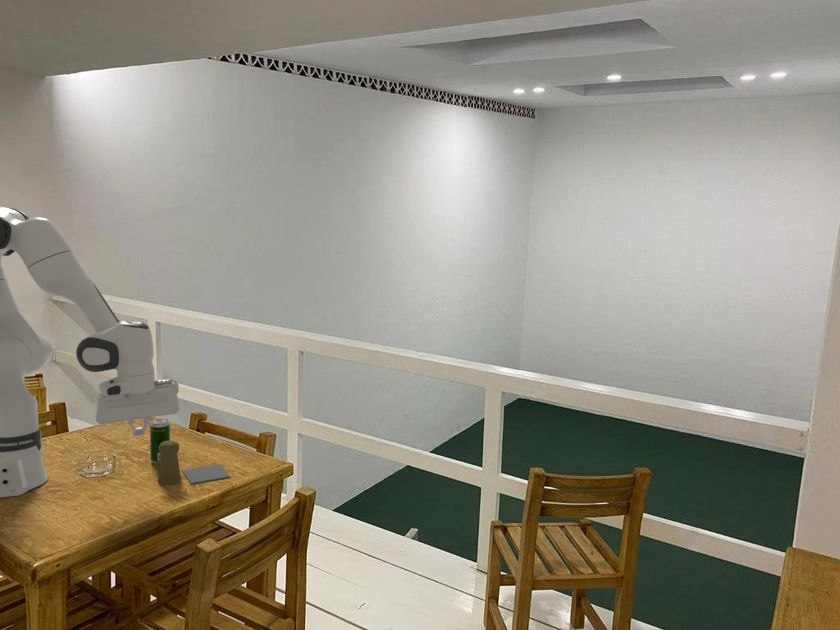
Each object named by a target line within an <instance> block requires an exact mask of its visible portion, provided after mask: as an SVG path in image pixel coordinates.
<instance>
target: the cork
mask: <svg viewBox="0 0 840 630" xmlns="http://www.w3.org/2000/svg"><path fill="white" fill-rule="evenodd" d="M179 451H180V444H179V443H178V441H176V440H170V441H164V442H162V443H161V444H160V445H159V453H160V454H161V458H160V464H159V468H158V475H157V483H159V484H158V485H161V486H174V485H176V484H179V483H181V482H182V476H181V470H180V469H181V468H180V465H179V458H178V457H179V456H178V453H179Z"/></svg>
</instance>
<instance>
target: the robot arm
mask: <svg viewBox="0 0 840 630" xmlns="http://www.w3.org/2000/svg"><path fill="white" fill-rule="evenodd" d="M13 253H16V254H17V255H18V256H19V257H20V258H21V261H22V262H23V264H24V265H25V267H26V269H27V271H28V273H29V274H30V277H31V278H32V280H33V282H34V283H35V284H36V285H37V286H38V287H39V288H40V290H41V291H43V292H44V293H47V294H49V295H51V296H54V297H59V298H62V299H65V300H68V301H70V302H72V303H73V304H75V305H76V306H77V307H78V308H79V309H80V311H81V312H82V314H84V316H85V317H86V319H87V321H88V322H89V323H90V325H91V326H92V328H93V329H94V331H95V333H94V334H92V335H89V336H86V337H85V338H83V339H82V340H81V341H80V342H79V343H78V344H77V347H76V351H75V352H76V353H75V355H76V360H77V361H78V363H79V365H80V366H81V367H82V368H83V369H84V370H86V371H88V372H90V373H92V372H93V373H101V372H105V371H110V370H116V372H117V373H116V374H117V376H115V377H113V378H111V379H108V380H105V381H102V382H100V383H99V385H98V392H99V394H98V395H97V396H96V398H95V401H94V402H95V404H94V421H95V422H96V423H97V424H99V425H104V424H105V425H106V424H112V423H113V424H114V423H121V422H127V424H128V425H129V427H130V428H131V430H132V436H133V437H137V436H143V435H146V434H147V433H146V428H147V426H148V425H149V423H150V418H154V417H155V418H156V417H161V416H169V415H175V414H178V413H179V412H178V411H179V410H180V404H179V402H180V401H179V398H178V393H179V391H180V390H179V384H178V382H177V381H176V380H173V379H171V378H170V379H166V380H165V379H164V380H163V379H161V380H155V379H156V378H155V367H154V364H153V359H154V343H153V336H152V332H151V331H152V330H151V329H150V327H149V325H148V324H146V323H145V322H142V321H140V320H139V321H138V320H132V319H131V320H129V319H127V320H121V321H120V320H119V319H118V317H117V316H116V314H115V313H114V312H113V309H112V308H111V307H110V305H109V303H107V301H106V299H105V298H104V296H103V295H102V293H101V292H100V290H99V289H98V287H97V286H96V285H95V283H94V282H93V281H92V280H91V279H90V277H89V276H88V275H87V273H86V272H85V270H84V269H83V268H82V265H81V264H80V262H79V261H78V260H77V257H76V256H75V254H74V252H73V250H72V249H71V247H70V245H69V243H68V242H67V240H66V239H65V238H64V236H63V235H62V233H61V232H60V231H59V229H58V228H57V227H56V226H55V224H53V222H52V221H51V220H49V219H47V218H45V217H31V218H30V217H29V216H28V215H27V214H26V213H24V212H23V211H20V210H18V209H17V208H12V207H5V206H4V207H3V206H0V498H7V497H15V496H18V497H19V496H21V495H23V494H26V492H28V491H30V490H32V489H35V488H37V487H39V486H41V485H43V484H44V483H45V482H47V481H48V480H49V479H48V478H49V476H48V475H47V471H46V469H45V465H44V462H43V457H42V452H41V451H42V443H43V441H42V439H43V438H42V431H41V428H40V426H39V407H38V405H39V404H38V400H37V398H36V397H35V396H34V395H33V394H31V393H30V392H29V390H28V388H27V385H26V382H25V378H26V377H25V376H27V375H31V374H32V373H35V372H37V371H39V370H40V369H42V367H44V366H45V365H46V364H47V363H49V361H50V360H51V358H52V356H53V346H52V343H51V342H50V340H49V339H48V338H47V337H46V336H45V335H43V334H41V333H40V332H38V331H37V330H36V329H35V328H34V327H33V326H32V325H31V323H29V321H28V320H27V319H26V318H25V316H24V314H23V313H22V311H21V310H20V308H19V306H18V304H17V302H16V299H15V297H14V295H13V293H12V289H11V288H10V285H9V282H8V280H7V277H6V275H5V273H4V269H3V267H2V264H1V263H2V257H3V256H5V257H8V256H11V255H12V254H13ZM141 419H142V421H143V423H142V425H141V426H138V427H137V426H136V427H135V425H134V424H135V420H141Z"/></svg>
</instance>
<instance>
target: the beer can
mask: <svg viewBox="0 0 840 630" xmlns="http://www.w3.org/2000/svg"><path fill="white" fill-rule="evenodd" d="M164 441H171V423H170V420H169V419H167V418H155V419H152V420H151V421H150V424H149V443H150V445H149V447H150V461H151V463H152V464H155V465H156V464H157V465H160V458H161V454H160V453H159V445H160V444H161V443H162V442H164Z"/></svg>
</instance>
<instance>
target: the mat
mask: <svg viewBox="0 0 840 630" xmlns="http://www.w3.org/2000/svg"><path fill="white" fill-rule="evenodd" d="M181 472H182V473H183V475H184V476H185V478H186V479H187V481H188V482H189V483H190V485H196V484H200V483H205V482H212V481H219V480H223V479H229V478H231V476H230V474H229V473H228V472H227V471H226V470H225V468H224V467H223V466H222V465H221V464H219V463H218V464H212V465H207V466H206V465H205V466H201V467H193V468H187V469H182V470H181Z"/></svg>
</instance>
